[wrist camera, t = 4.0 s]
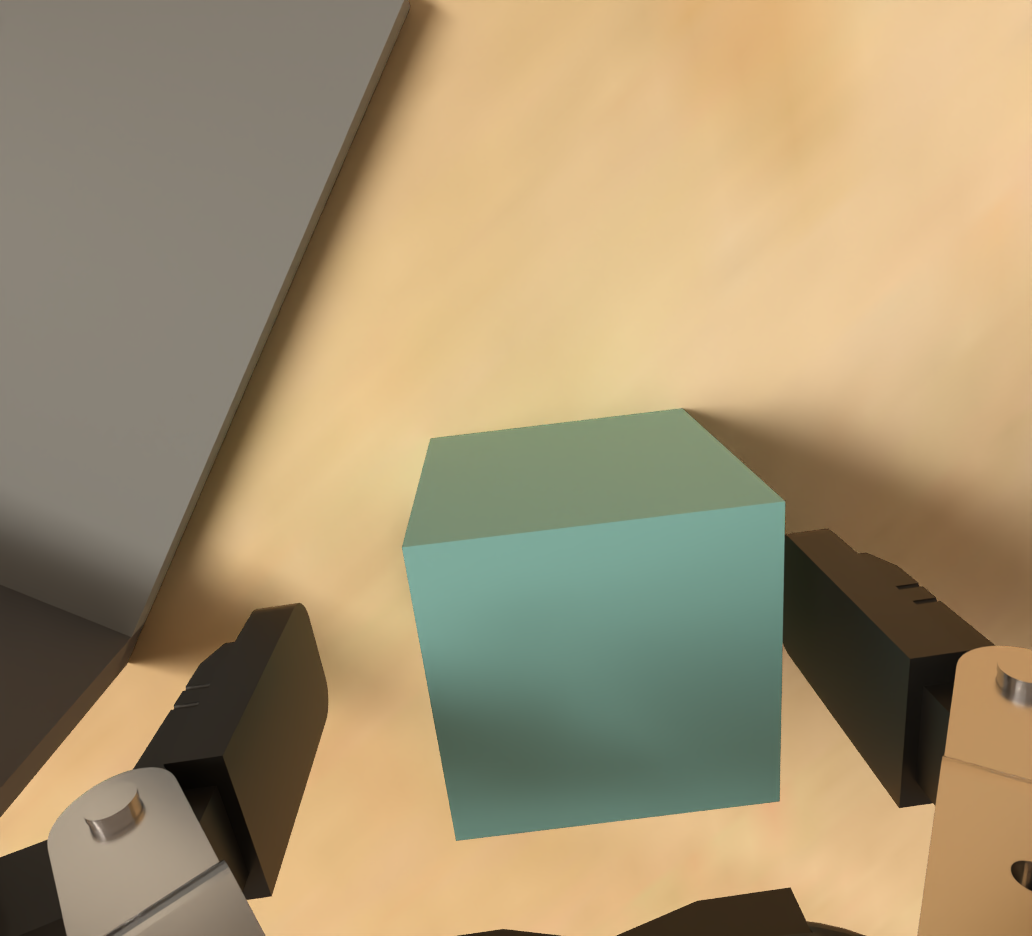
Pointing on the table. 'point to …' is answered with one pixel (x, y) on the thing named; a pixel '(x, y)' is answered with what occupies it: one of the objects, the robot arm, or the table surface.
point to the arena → (142, 296)
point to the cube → (598, 622)
